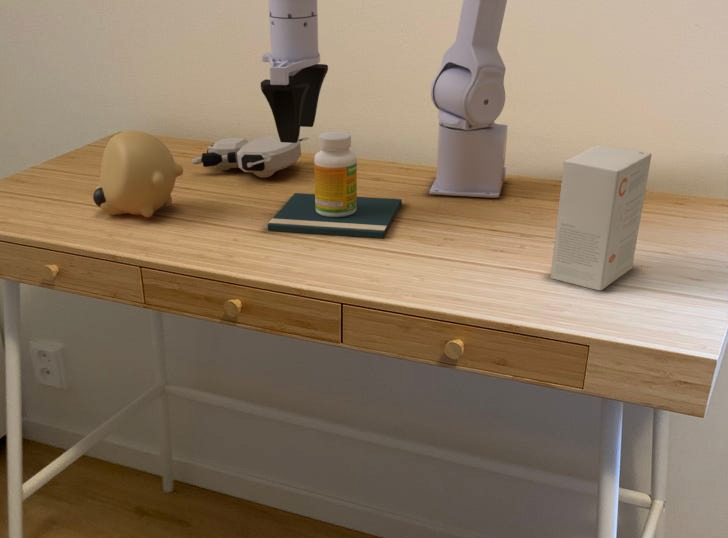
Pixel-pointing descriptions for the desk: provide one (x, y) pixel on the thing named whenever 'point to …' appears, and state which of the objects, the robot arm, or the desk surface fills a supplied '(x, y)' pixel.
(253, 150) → the robot toy
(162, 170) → the toy pig
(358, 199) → the teal notebook
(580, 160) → the small box
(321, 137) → the supplement bottle
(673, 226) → the desk surface
